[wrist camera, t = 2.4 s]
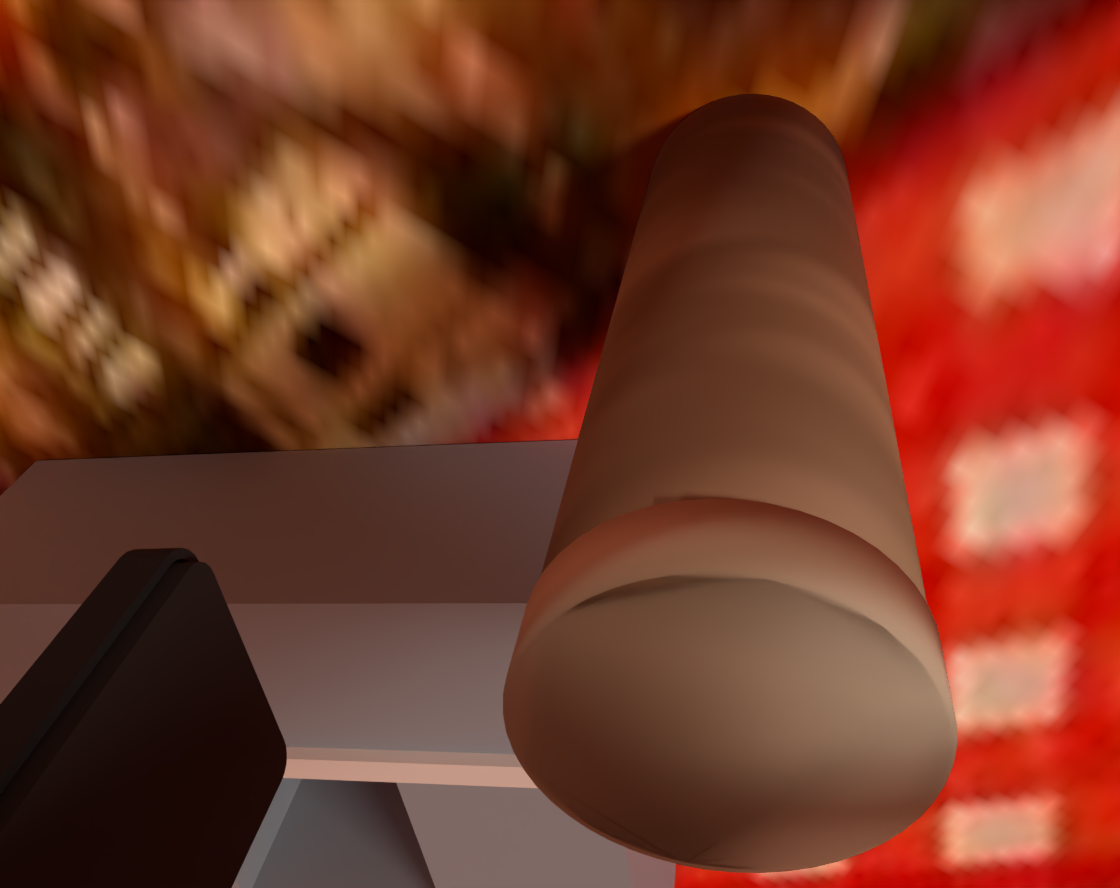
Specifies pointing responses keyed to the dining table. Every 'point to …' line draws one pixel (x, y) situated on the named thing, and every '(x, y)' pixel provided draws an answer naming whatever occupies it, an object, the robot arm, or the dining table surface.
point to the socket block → (345, 642)
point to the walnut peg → (737, 534)
